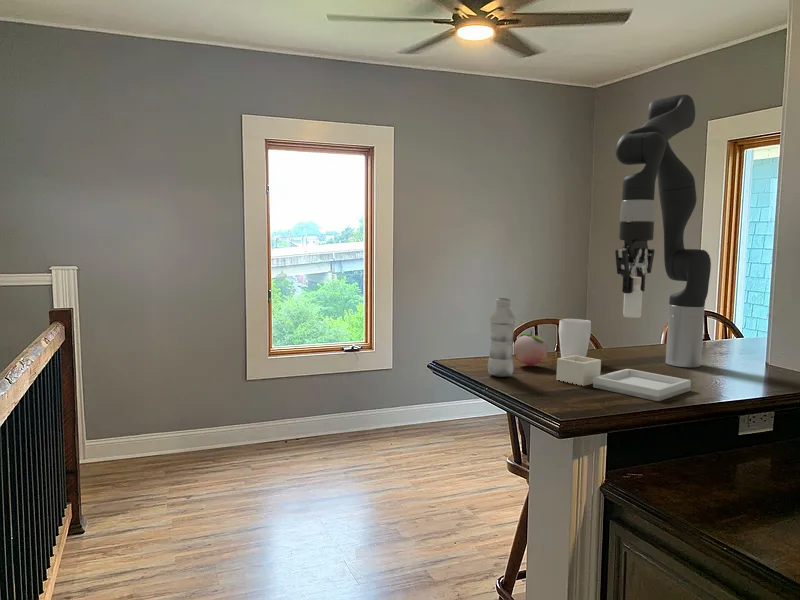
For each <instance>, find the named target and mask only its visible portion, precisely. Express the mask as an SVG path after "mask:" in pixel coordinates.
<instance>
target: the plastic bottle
mask: <svg viewBox="0 0 800 600" xmlns="http://www.w3.org/2000/svg"><path fill="white" fill-rule="evenodd" d="M494 306H495V309H494V310H493V312H492V313H491V314H490V317H489V328H490V340H491V341H490V351H489V357H488V362H487V372H488V373H489V375H490V376H494V377H498V378H505V377H510V376H512V374H513V373H514V369H515V365H514V364H515V363H514V359H513V356H514V355H513V344H514V343H513V341H514V334H515V333H514V332H515V327H516V322H517V319H516V316H515V314H514V312H513V310H511V307H512V303H511V298H506V297H505V298H504V297H497V298H495V304H494Z"/></svg>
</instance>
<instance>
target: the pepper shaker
mask: <svg viewBox="0 0 800 600" xmlns="http://www.w3.org/2000/svg"><path fill="white" fill-rule="evenodd" d="M640 287H641V277H635V276H633V292H632V293H623V311H622V313H623V314H622V316H623V317H624V318H634V319H635V318H637V319H639V318H641V317H642V307H643V292H642V291H641V290H640Z"/></svg>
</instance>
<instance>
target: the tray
mask: <svg viewBox="0 0 800 600" xmlns="http://www.w3.org/2000/svg"><path fill="white" fill-rule="evenodd" d="M691 382H692V380H691V379H686V378H680V377H675V376H670V375H666V374H665V375H664V374H659V373H653V372H650V371H649V372H648V371H643V370H636V369H632V368H625V369H621V370H615V371H612V372H608V373H605V374H600V376H595V377H594V378H593V383H592V387H593V388H596V389H599V390H604V391H609V392H614V393H618V394H622V395H627V396H632V397H637V398H641V399H646V400H651V401H655V402H660V401H663V400H666V399H670V398H673V397H674V396H676V397H677V396H679V395H682V394H684V393H686V392H690V391H691V387H692V385H691Z"/></svg>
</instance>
